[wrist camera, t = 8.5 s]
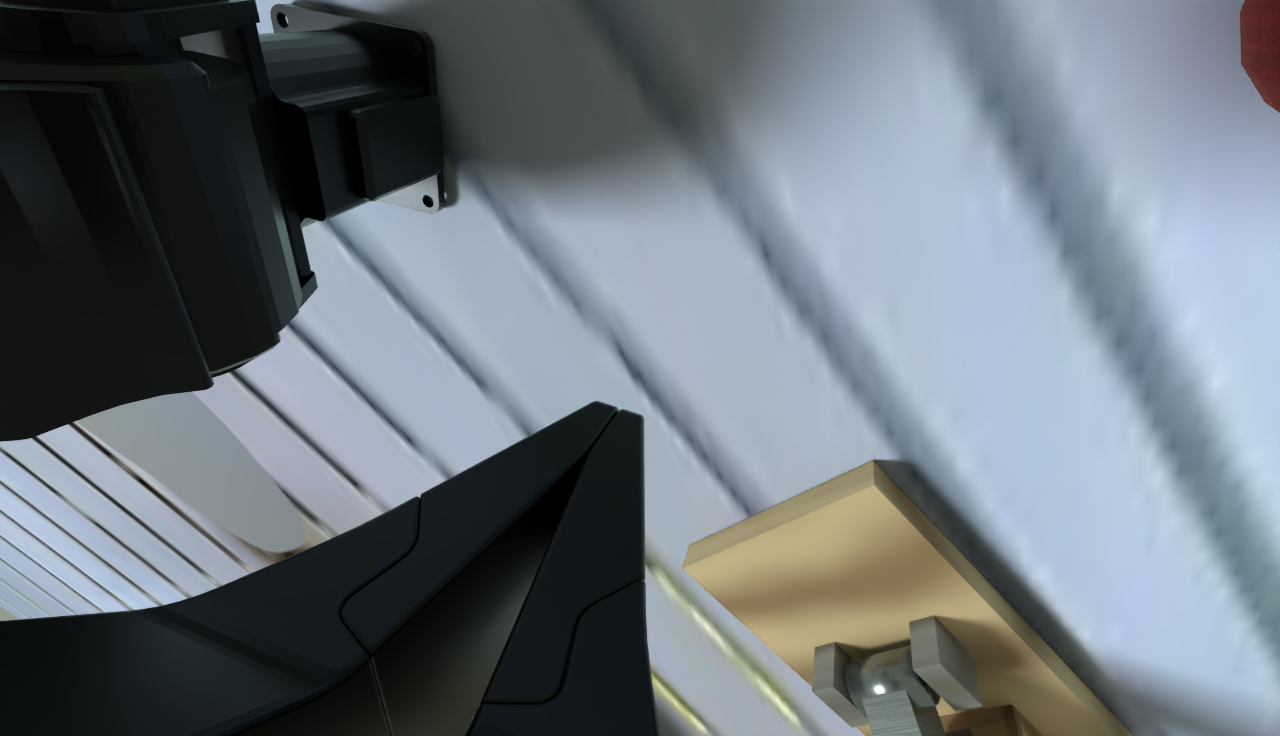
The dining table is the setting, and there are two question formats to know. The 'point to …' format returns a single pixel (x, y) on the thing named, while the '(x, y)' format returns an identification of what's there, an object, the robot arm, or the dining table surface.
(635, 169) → the dining table surface
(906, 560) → the base
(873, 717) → the lever
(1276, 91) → the onion
